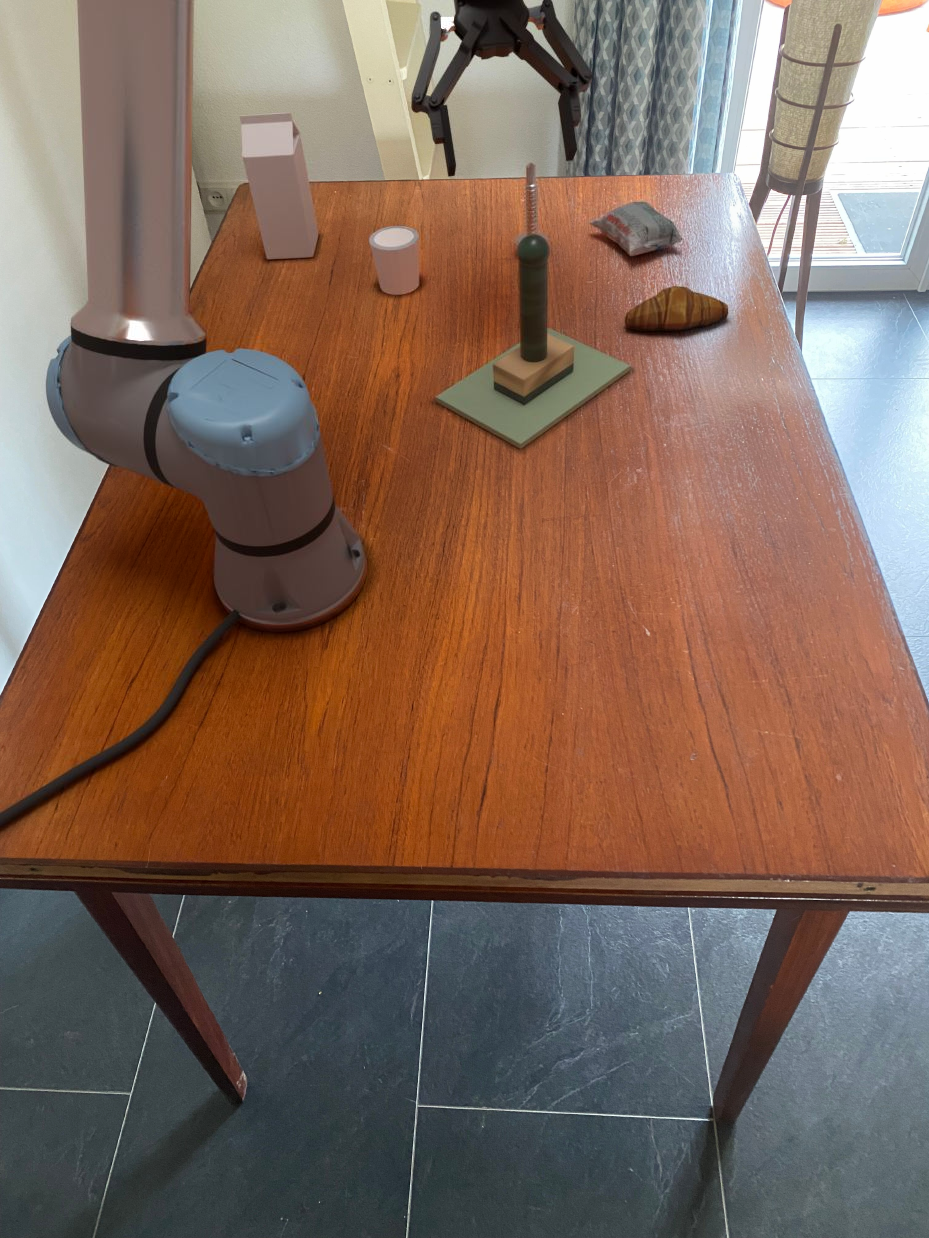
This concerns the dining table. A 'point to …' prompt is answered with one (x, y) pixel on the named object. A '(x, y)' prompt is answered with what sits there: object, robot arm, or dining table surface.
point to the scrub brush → (533, 332)
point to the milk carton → (279, 185)
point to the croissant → (676, 311)
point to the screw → (530, 204)
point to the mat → (545, 410)
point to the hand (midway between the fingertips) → (512, 163)
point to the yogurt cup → (396, 258)
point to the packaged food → (638, 228)
